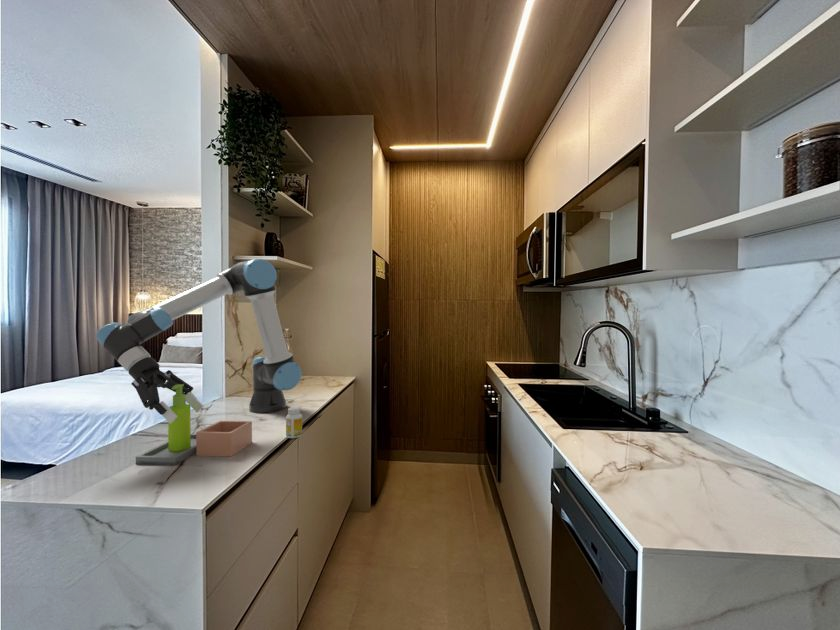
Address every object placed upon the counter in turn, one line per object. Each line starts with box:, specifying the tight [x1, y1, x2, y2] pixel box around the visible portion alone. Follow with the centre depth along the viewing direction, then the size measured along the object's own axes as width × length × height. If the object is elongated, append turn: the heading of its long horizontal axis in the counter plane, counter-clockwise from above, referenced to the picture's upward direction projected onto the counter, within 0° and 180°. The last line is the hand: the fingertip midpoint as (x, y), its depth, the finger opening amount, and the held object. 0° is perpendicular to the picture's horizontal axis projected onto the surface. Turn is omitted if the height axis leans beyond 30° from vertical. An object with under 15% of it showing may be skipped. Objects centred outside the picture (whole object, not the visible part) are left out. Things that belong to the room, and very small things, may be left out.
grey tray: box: [135, 433, 197, 466], centre depth 119 cm, size 20×12×2 cm, turn 176°
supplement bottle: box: [285, 406, 303, 439], centre depth 133 cm, size 5×5×10 cm
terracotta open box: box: [195, 420, 253, 457], centre depth 121 cm, size 12×11×7 cm
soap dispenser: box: [167, 384, 192, 452], centre depth 119 cm, size 6×7×20 cm
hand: (187, 414), depth 119 cm, fingers open, 11 cm apart
